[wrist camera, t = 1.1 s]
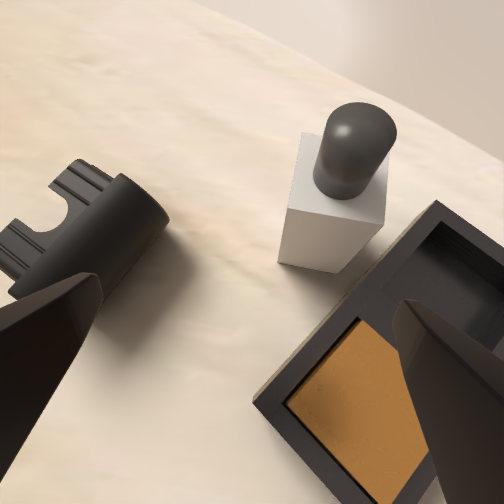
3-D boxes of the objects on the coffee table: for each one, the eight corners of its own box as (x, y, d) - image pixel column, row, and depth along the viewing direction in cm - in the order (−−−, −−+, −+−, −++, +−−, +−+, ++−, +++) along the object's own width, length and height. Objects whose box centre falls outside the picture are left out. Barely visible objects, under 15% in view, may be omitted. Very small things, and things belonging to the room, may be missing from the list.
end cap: (101, 331, 23) (40, 322, 17) (40, 282, 24) (-38, 256, 18) (181, 233, 26) (155, 193, 19) (121, 194, 27) (78, 144, 21)
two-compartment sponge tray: (525, 297, 23) (577, 286, 19) (365, 521, 18) (392, 563, 15) (416, 216, 25) (443, 192, 22) (253, 396, 21) (251, 405, 17)
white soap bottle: (337, 274, 24) (419, 188, 12) (277, 262, 24) (294, 167, 12) (344, 219, 25) (422, 93, 13) (287, 209, 26) (311, 78, 14)
